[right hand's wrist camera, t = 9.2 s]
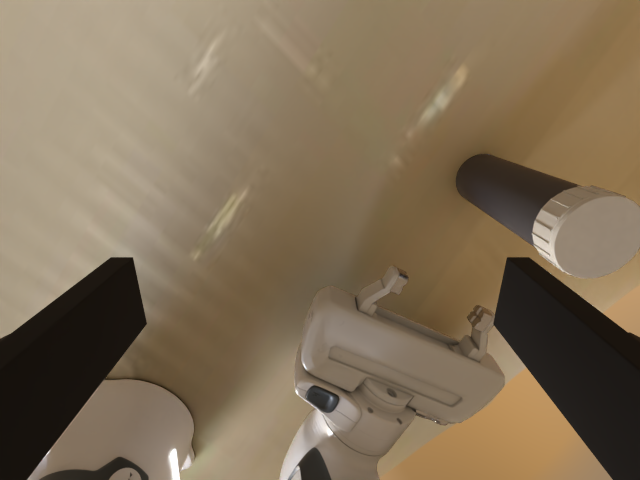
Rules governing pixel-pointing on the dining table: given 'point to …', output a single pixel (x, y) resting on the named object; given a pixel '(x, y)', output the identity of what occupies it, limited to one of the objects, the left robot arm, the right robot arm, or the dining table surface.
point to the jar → (508, 191)
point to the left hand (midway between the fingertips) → (445, 291)
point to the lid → (588, 231)
